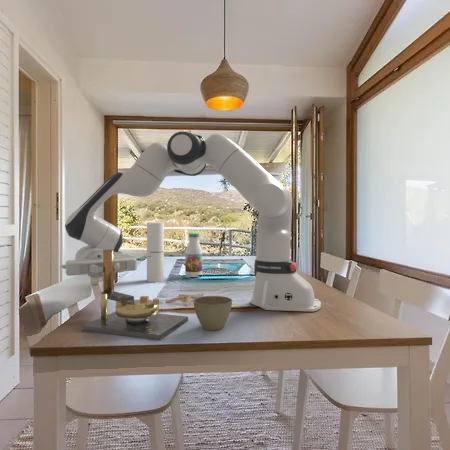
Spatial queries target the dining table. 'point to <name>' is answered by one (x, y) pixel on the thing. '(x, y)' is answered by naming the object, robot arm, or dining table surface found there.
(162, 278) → the cylindrical container
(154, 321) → the flange base
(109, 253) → the crank handle
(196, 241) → the milk bottle
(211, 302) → the flower pot
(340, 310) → the dining table surface
